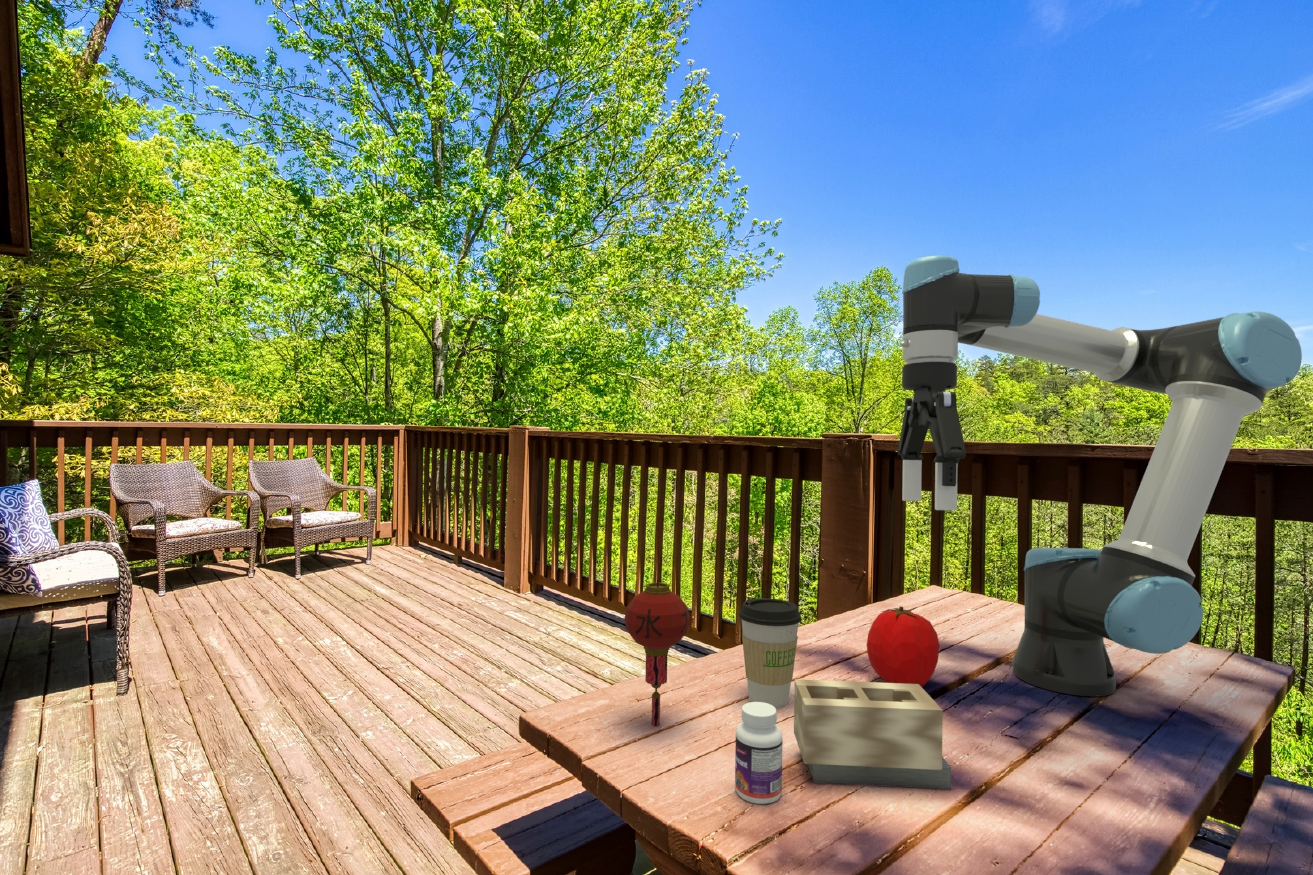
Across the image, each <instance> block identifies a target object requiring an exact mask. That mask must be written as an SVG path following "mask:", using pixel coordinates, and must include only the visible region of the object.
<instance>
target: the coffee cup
mask: <svg viewBox="0 0 1313 875" xmlns="http://www.w3.org/2000/svg"><path fill="white" fill-rule="evenodd" d="M738 618H739V619H740V620H741V629H742V631H741V638H742V639H741V640H742V649H743V660H744V668H745V677H746V679H747V680H746V682H747V690H748V691H747V692H748V693H747V694H748V700H749V702H764V703H768V704H770V705H772V706H774V707H775V708H776V709H778V708H783V707H786V706H787V705H788V704H789V700H790V695H791V694H790V692H791V684H792V681H793V676H794V668H795V663H796V662H795V661H796V655H797V646H798V629H799V628H798V627H799V624H800V623H801V622H802V615H801V613H800V612H799V608H798V605H797V604H796V603H794V602H791V601H789V600H784V599H781V598H780V599H779V598H768V597H767V598H766V597H764V598H763V597H762V598H761V597H759V598H758V597H757V598H750V599H747V600H745V601H743V603H742V607H741V608H740V610H739V611H738Z"/></svg>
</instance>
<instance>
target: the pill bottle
mask: <svg viewBox="0 0 1313 875" xmlns="http://www.w3.org/2000/svg"><path fill="white" fill-rule="evenodd" d="M777 713H778V712H777V708H775V707H774V706H772V705H770V704H768V703H764V702H751V701H749V702H746V703H744V704H743V705H742V706H741V721H742V722H740V723H739V724H738V726H737V727H736V730H735V752H734V753H735V758H734V759H735V760H734V762H735V764H734V768H735V769H734V772H735V773H734V780H735V781H734V784H735V785H734V789H735V791H736V794H737V795H738V796H739V797H740V798H742V799H743V800H745V801H747V802H749V803H752V804H756V805H757V804H758V805H765V804H766V805H767V804H771V803H774V802H776V801H778V800H779V799H780V798H781V795H782V792H783V791H782V789H783V745H784V744H783V739H784V738H783V732H782V730H781V729H780V727H779V726H778V725H777V720H778V718H777V716H778V715H777Z"/></svg>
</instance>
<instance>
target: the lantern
mask: <svg viewBox="0 0 1313 875" xmlns="http://www.w3.org/2000/svg"><path fill="white" fill-rule="evenodd" d="M660 517H661V516H660V515H659V514H658V515H657V538H656V539H657V541H656V542H657V543H656V544H657V545H656V546H657V548H656V549H657V550H656V551H657V552H656V558H657V559H656V582H648V583H646V584H645V588H644V590H643V591H641V592H640V593H638V594H636V595H635V596H634V597H633V599H632V600H630V603H628V605H627V606H626V609H625V614H624V619H623V620H624V623H625V624H624V625H625V628H626V631H627V633H628V634H629V635H630V637H631V638H632V639H633V641H634V642H635V643H636V644H638V645H640V646H642V647H643V649H644V653H645V682H646V683H647V684H649V685H650V686H651V687H652V688H654V689H655V691H654V692H652V694H651V725H652V726H654V727H658V726H660V725H661V724H660V722H661V694H660V692H659V691H658V689H659V688H661V687H662V685H665V684H667V682H668V654H669V650H670V648H671V647H673V646H675V645H677V644H678V643H680V642H681V641H682V639H683V638H684V637H685V635H686V634H687V631H688V628H689V624H690V618H691V617H690V613H689V606H687V604H686V603H685V601H684V600H683V599H682V597H681V596H680V595H678V594H677V593H675V592H673V591H672V590H671V588H670V584H668V583H665V582H659V578H660V575H659V574H660V571H659V570H660V519H661V518H660Z"/></svg>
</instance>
